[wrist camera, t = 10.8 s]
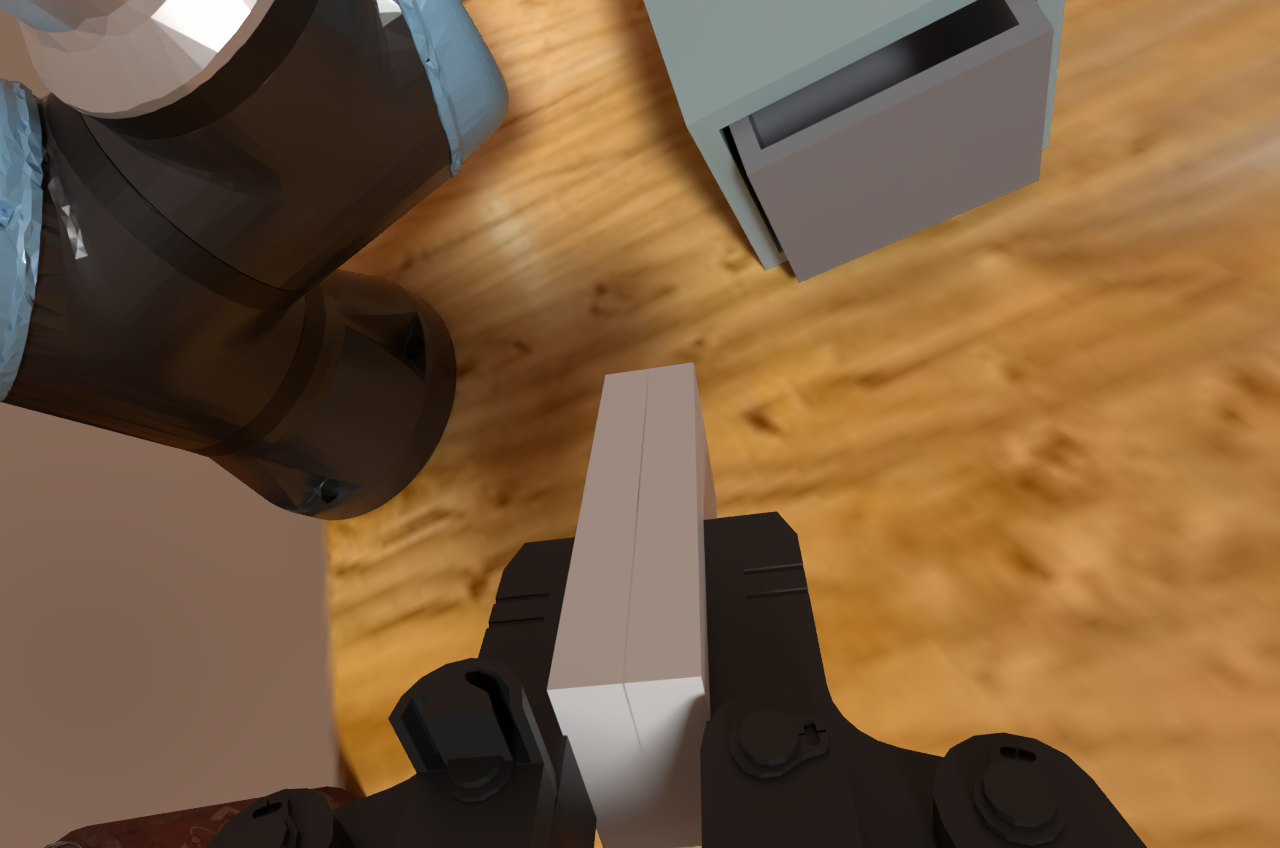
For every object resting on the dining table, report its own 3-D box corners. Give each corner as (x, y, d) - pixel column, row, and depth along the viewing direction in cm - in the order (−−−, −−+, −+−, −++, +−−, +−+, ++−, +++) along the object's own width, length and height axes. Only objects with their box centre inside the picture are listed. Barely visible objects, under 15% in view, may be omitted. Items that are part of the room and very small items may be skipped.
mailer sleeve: (1048, 146, 36) (1072, -72, 26) (765, 270, 40) (686, 126, 30) (934, -50, 42) (915, -296, 31) (696, 76, 46) (608, -104, 35)
